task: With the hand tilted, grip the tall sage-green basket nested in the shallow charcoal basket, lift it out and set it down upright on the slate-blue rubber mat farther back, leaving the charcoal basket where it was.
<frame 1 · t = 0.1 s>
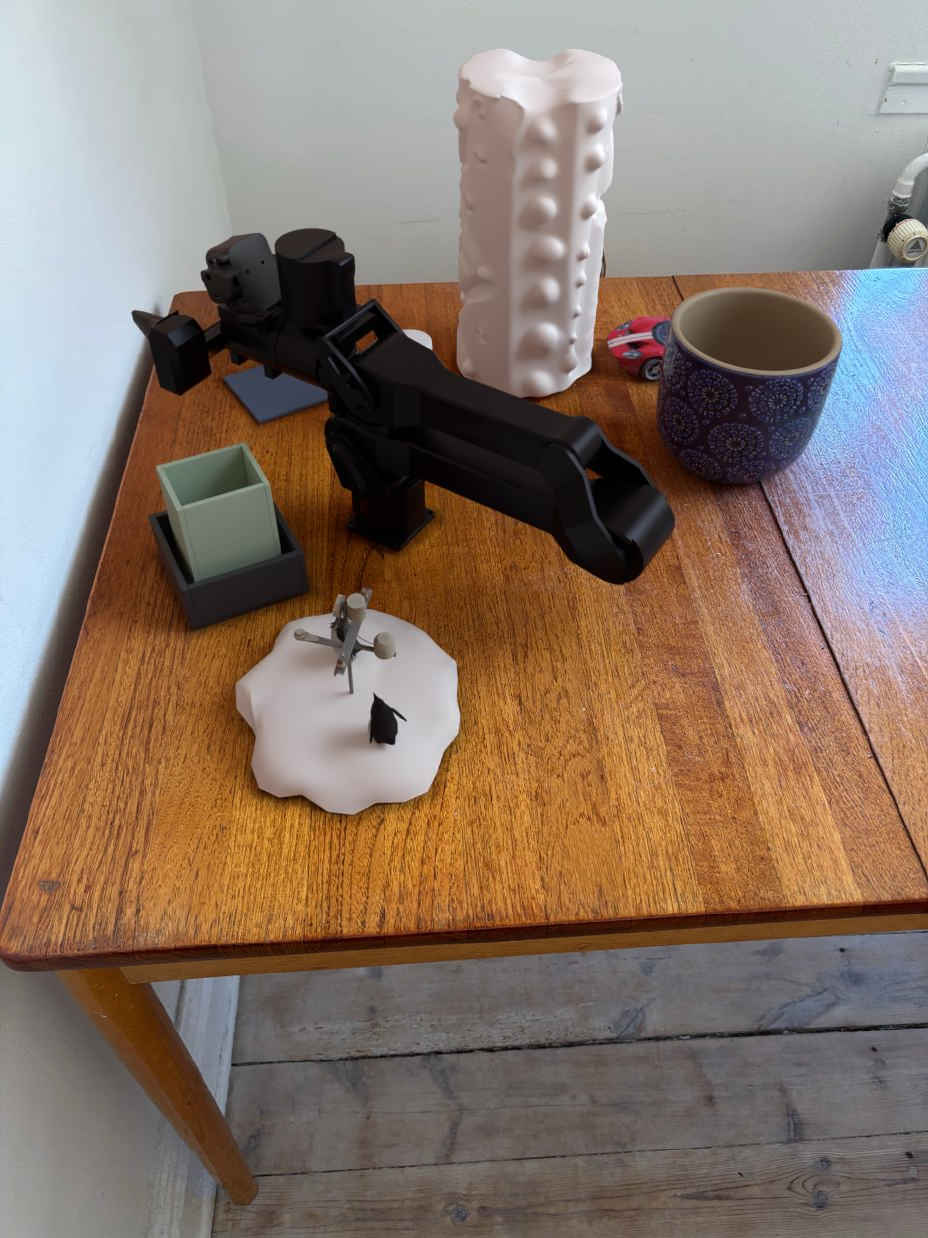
hand: (168, 294, 97), 17 cm above the table, tool horizontal, fingers open, 9 cm apart
vase: (521, 363, 119), on the table
pill bottle: (411, 422, 111), on the table
charcoal basket: (233, 573, 94), on the table, touching green basket
green basket: (232, 568, 94), point 1 cm above the table, touching charcoal basket
planter: (724, 454, 108), on the table
mat: (281, 388, 115), on the table
toy car: (695, 362, 120), on the table
figurine: (350, 713, 83), on the table
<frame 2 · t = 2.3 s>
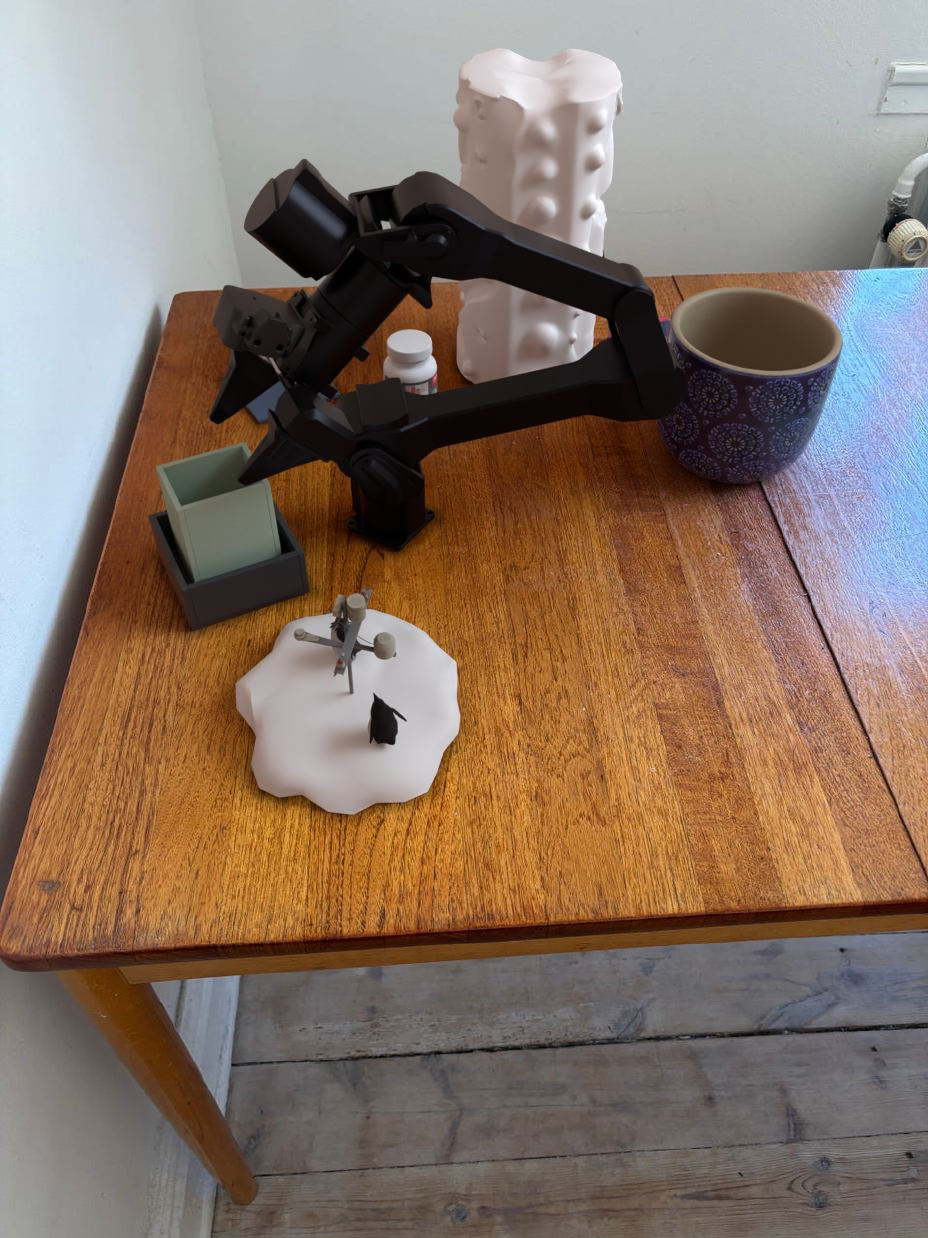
hand: (226, 451, 86), 13 cm above the table, tool tilted 45°, fingers open, 9 cm apart
nothing on the table moved.
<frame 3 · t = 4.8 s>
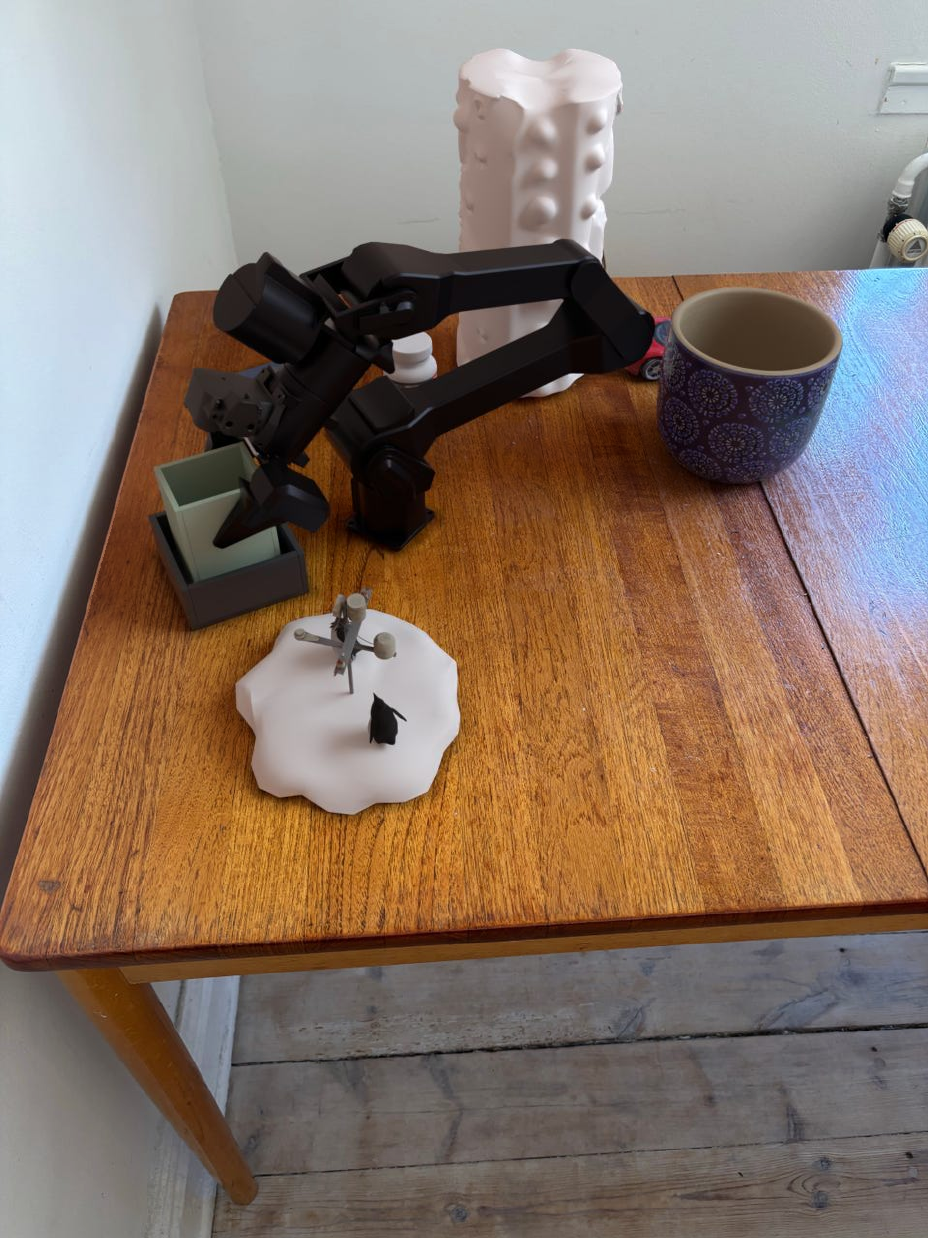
hand: (205, 522, 89), 7 cm above the table, tool tilted 45°, fingers closed on green basket, 6 cm apart
green basket: (231, 568, 93), point 1 cm above the table, touching charcoal basket, gripper
everything else where it was.
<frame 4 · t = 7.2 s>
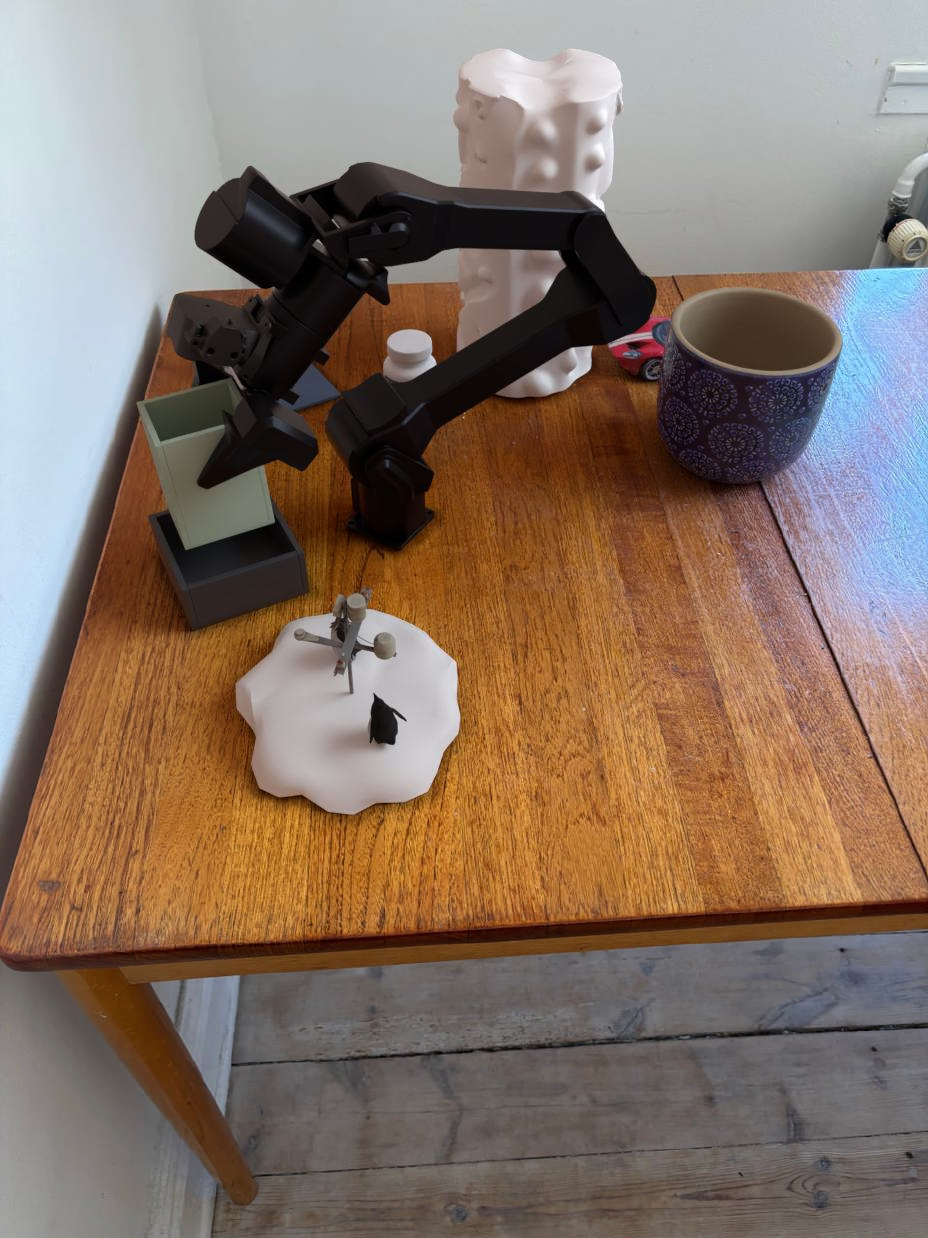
hand: (190, 462, 84), 13 cm above the table, tool tilted 45°, fingers closed on green basket, 6 cm apart
charcoal basket: (233, 573, 94), on the table
green basket: (220, 513, 89), point 7 cm above the table, touching gripper
everything else where it was.
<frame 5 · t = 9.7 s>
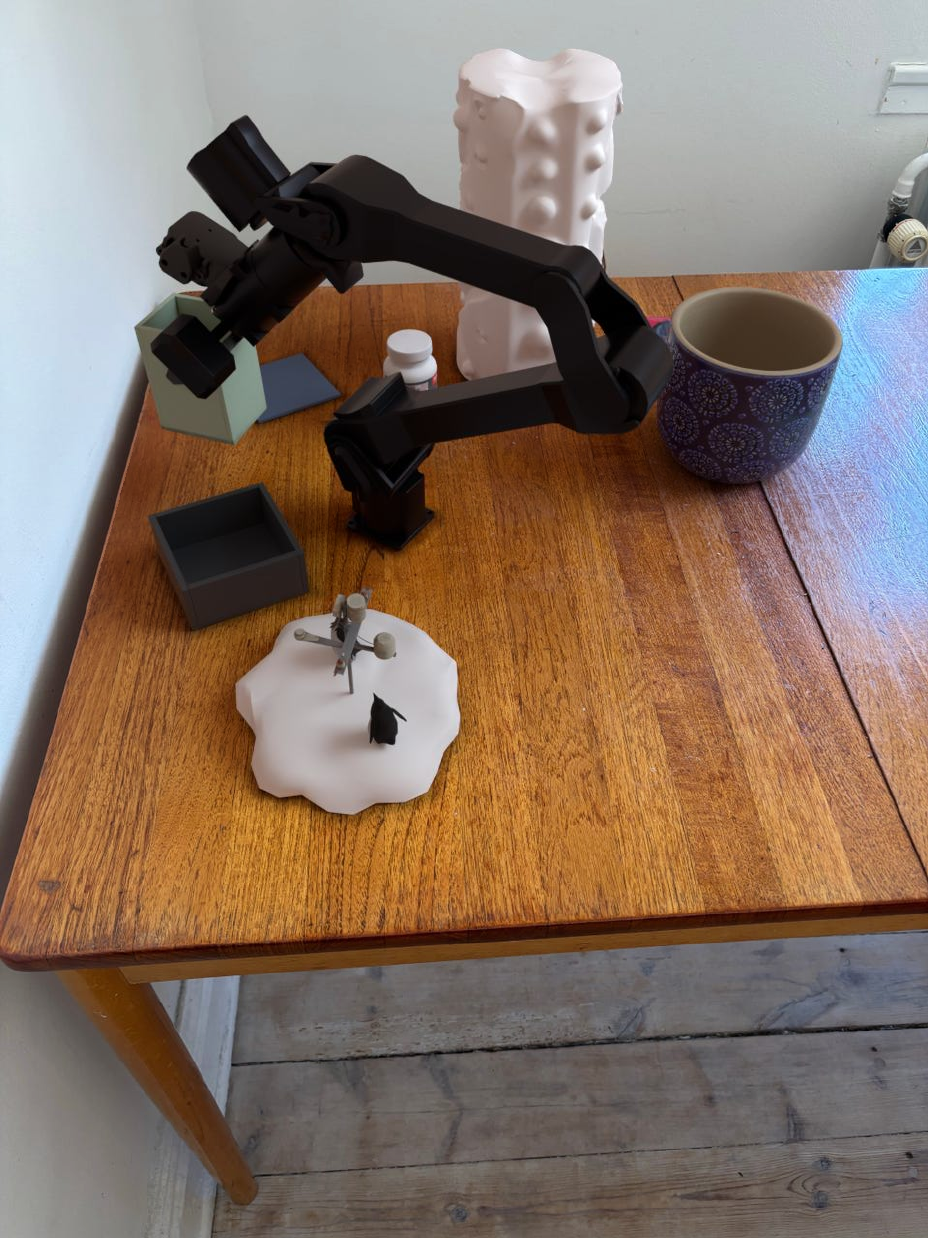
hand: (190, 360, 95), 13 cm above the table, tool tilted 45°, fingers closed on green basket, 6 cm apart
green basket: (214, 418, 99), point 7 cm above the table, touching gripper
everything else where it was.
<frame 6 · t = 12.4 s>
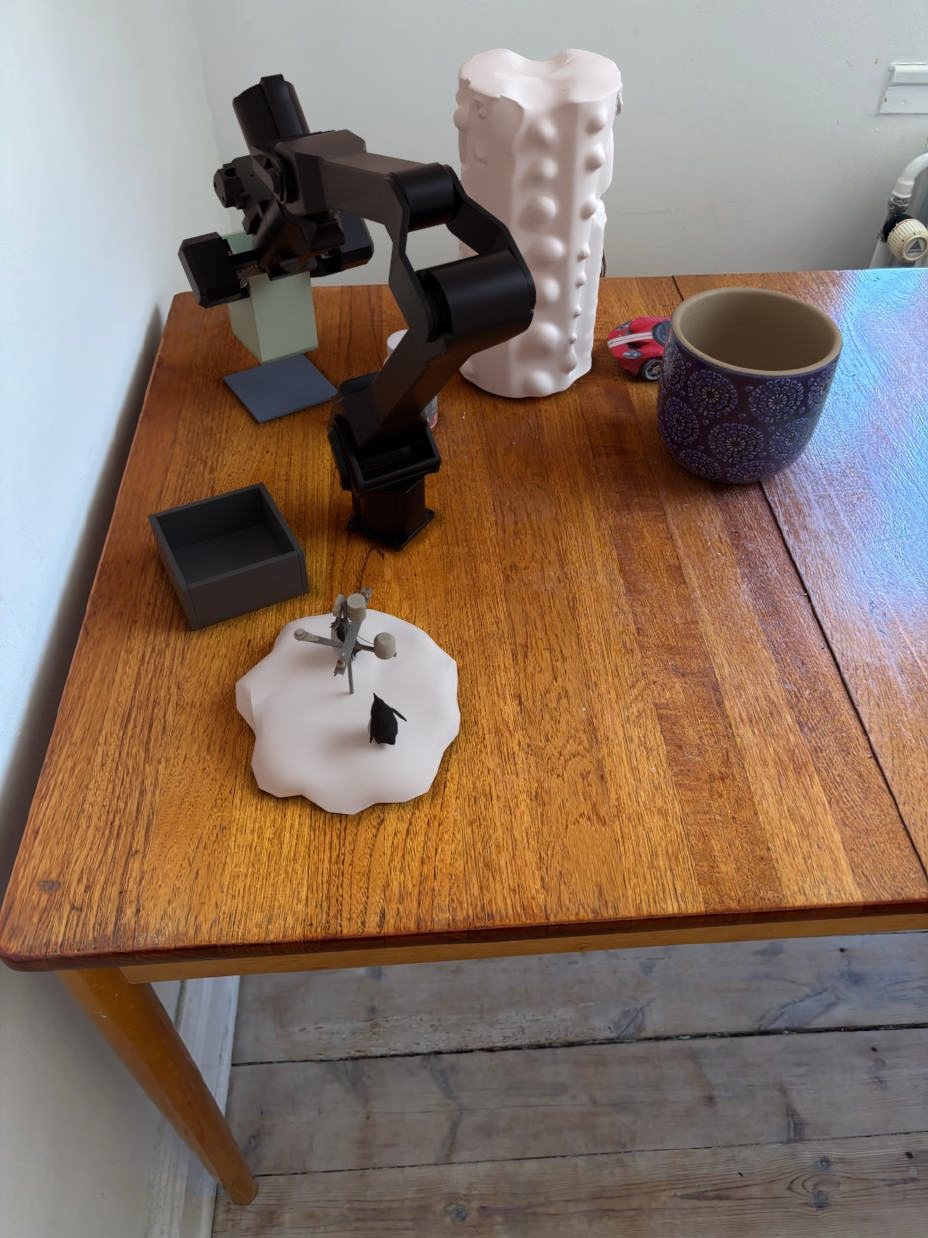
hand: (262, 282, 107), 12 cm above the table, tool tilted 45°, fingers closed on green basket, 6 cm apart
green basket: (275, 340, 110), point 6 cm above the table, touching gripper
everything else where it was.
when the fingers open (7 cm above the table, at t = 14.6 s): green basket stays where it is, resting on mat.
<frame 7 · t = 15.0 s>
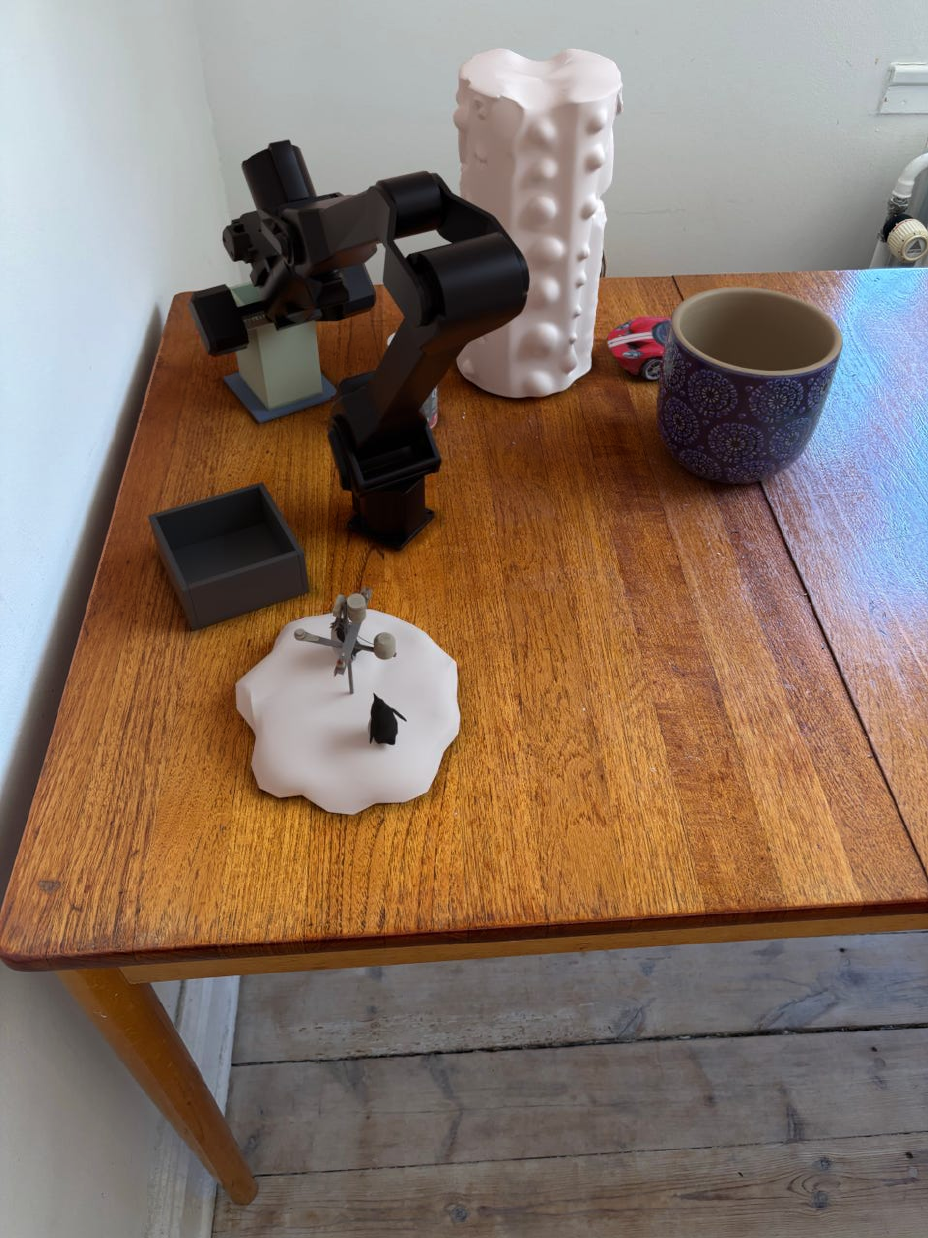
hand: (268, 327, 111), 7 cm above the table, tool tilted 45°, fingers open, 9 cm apart
green basket: (281, 385, 115), resting on mat
everything else where it was.
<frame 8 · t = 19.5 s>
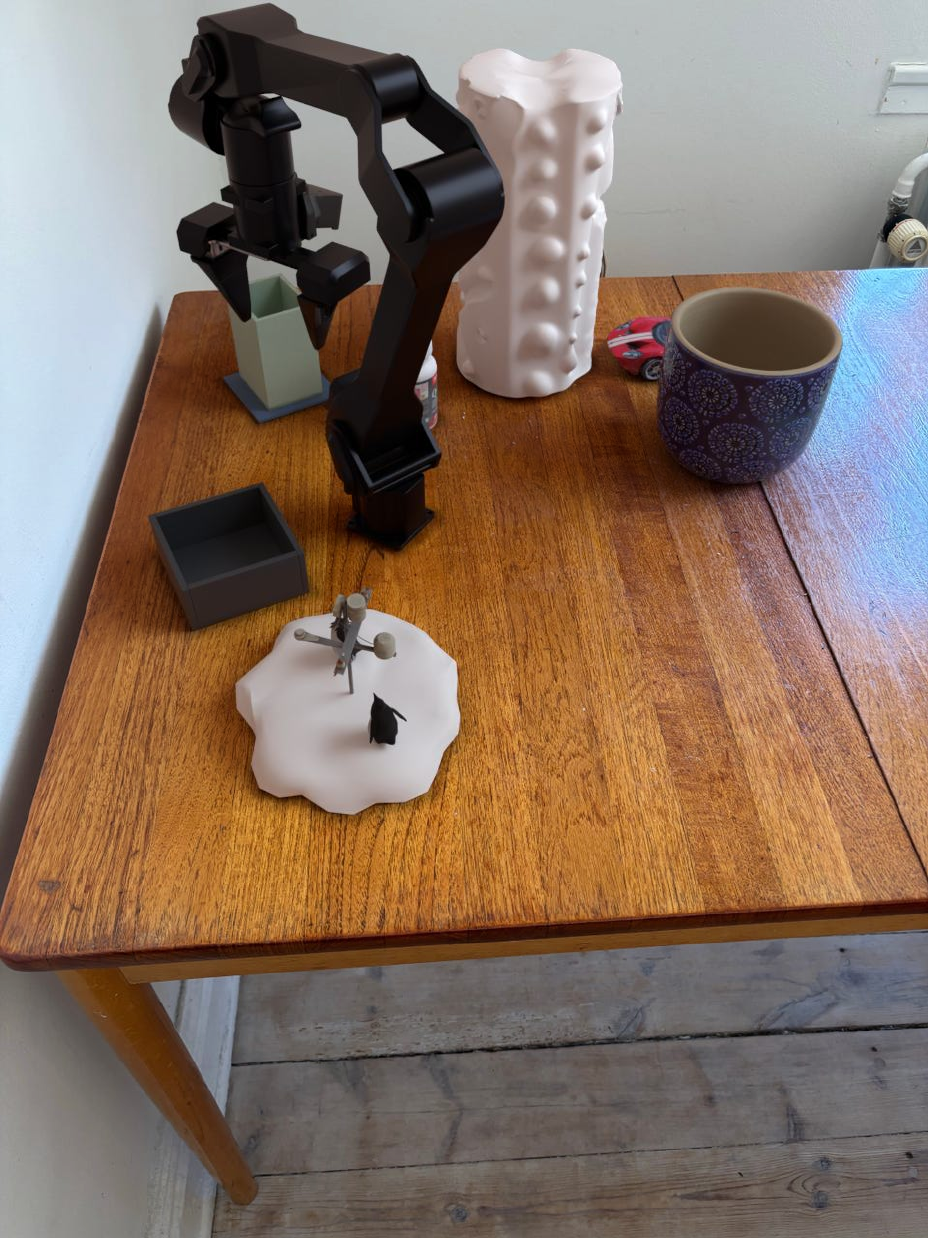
hand: (282, 333, 99), 13 cm above the table, tool pointing down, fingers open, 9 cm apart
nothing on the table moved.
at the end: green basket inside the target area on the mat (0.1 cm from its centre), point 0.4 cm above the mat's base; green basket tilted 0°; charcoal basket moved 0.0 cm from its start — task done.
